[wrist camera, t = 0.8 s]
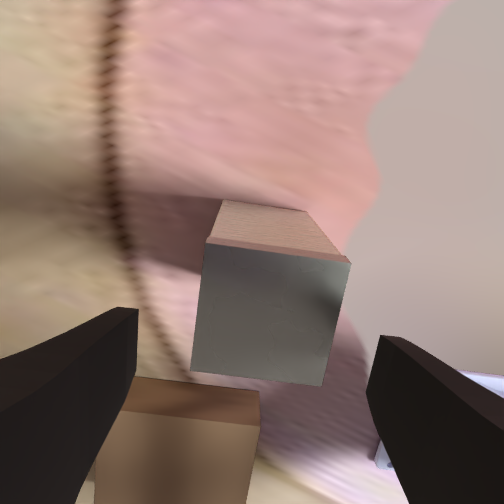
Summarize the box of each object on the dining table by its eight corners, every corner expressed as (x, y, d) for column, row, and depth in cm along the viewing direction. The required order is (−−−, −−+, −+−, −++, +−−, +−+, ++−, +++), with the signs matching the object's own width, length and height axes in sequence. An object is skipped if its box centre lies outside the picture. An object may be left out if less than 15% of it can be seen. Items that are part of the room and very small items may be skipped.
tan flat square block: (259, 391, 24) (260, 426, 21) (239, 498, 26) (238, 542, 23) (116, 374, 23) (97, 407, 20) (110, 485, 26) (93, 528, 23)
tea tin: (308, 211, 20) (351, 263, 12) (292, 290, 22) (321, 386, 13) (222, 198, 20) (205, 242, 12) (212, 279, 21) (190, 370, 13)
